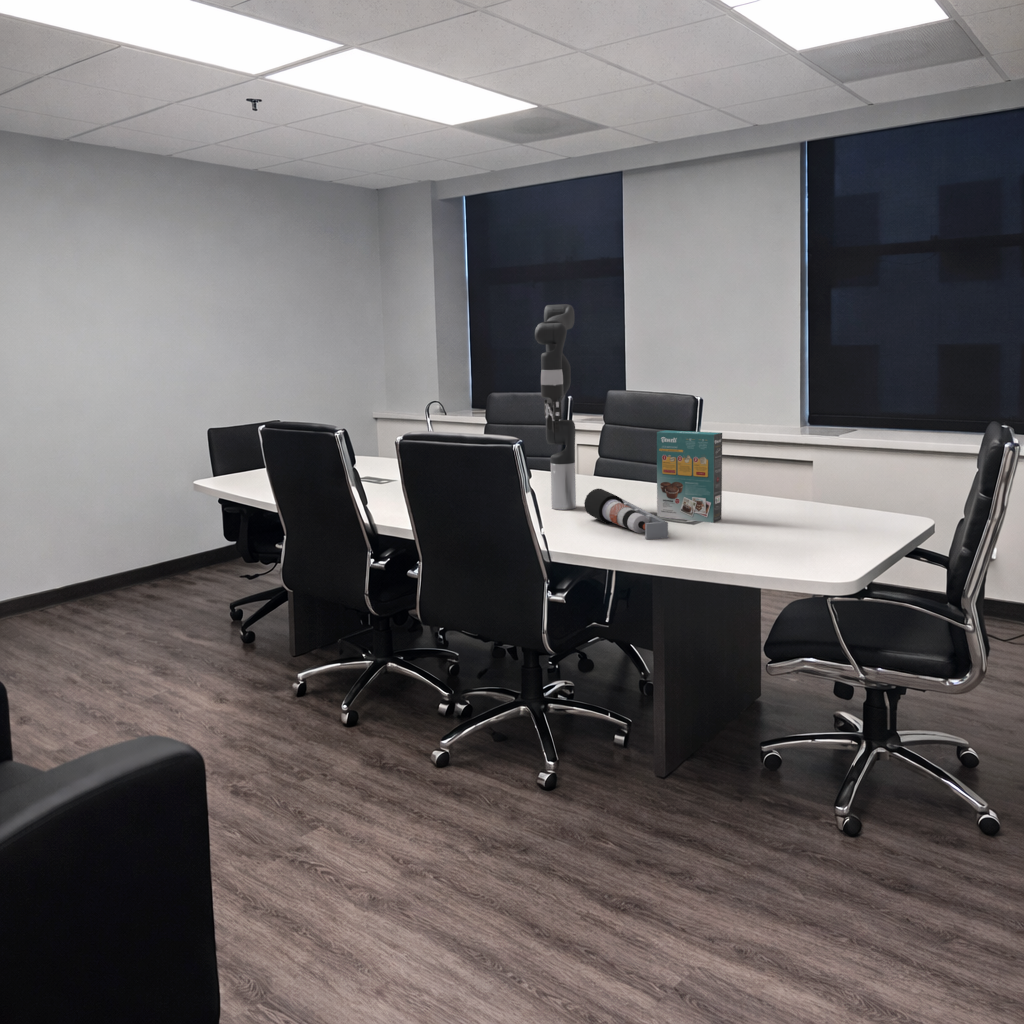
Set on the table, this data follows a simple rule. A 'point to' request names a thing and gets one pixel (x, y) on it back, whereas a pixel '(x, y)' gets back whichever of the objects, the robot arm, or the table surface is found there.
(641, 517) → the cable
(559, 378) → the robot arm
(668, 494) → the cake mix box
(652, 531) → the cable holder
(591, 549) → the table surface
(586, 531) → the table surface
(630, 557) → the table surface
